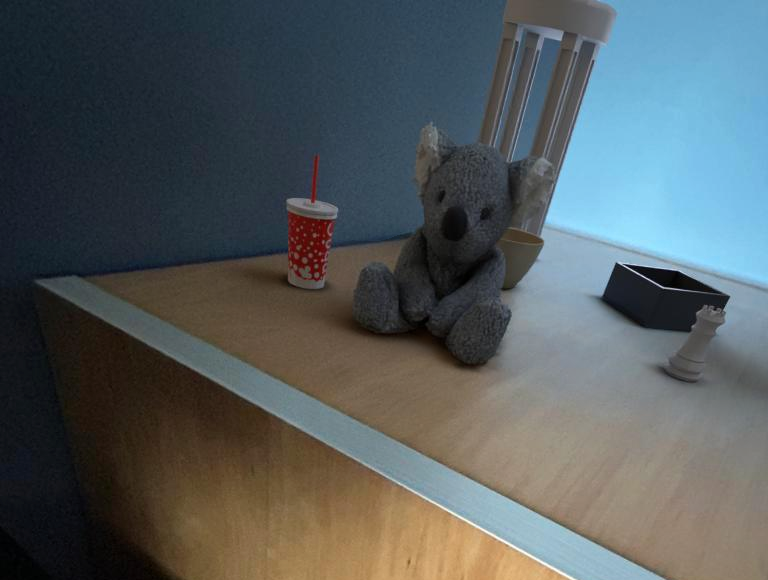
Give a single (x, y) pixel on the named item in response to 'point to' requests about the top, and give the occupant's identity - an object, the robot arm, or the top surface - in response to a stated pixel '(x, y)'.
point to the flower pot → (518, 254)
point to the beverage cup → (309, 238)
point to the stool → (574, 29)
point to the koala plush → (455, 247)
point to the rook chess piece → (695, 346)
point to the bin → (660, 296)
